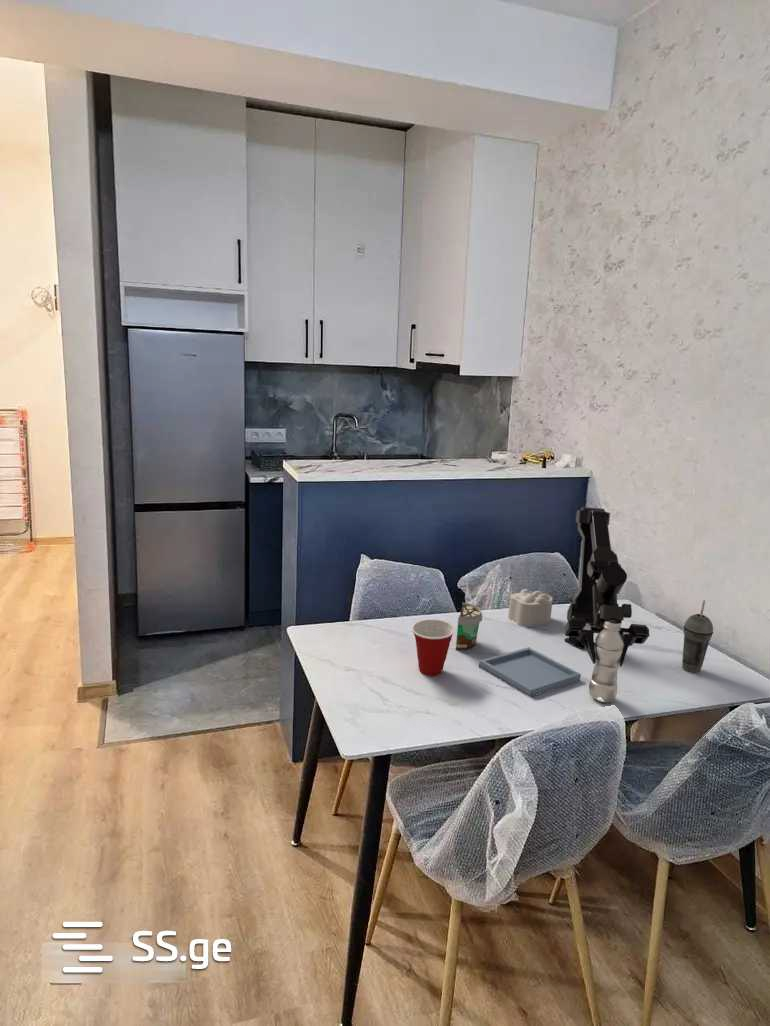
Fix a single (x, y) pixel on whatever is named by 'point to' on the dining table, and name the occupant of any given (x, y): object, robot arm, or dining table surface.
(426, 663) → the plastic cup
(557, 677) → the blue-gray tray
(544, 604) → the beige lumpy box
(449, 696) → the dining table surface
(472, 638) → the food container
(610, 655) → the plastic bottle
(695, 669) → the beverage cup
